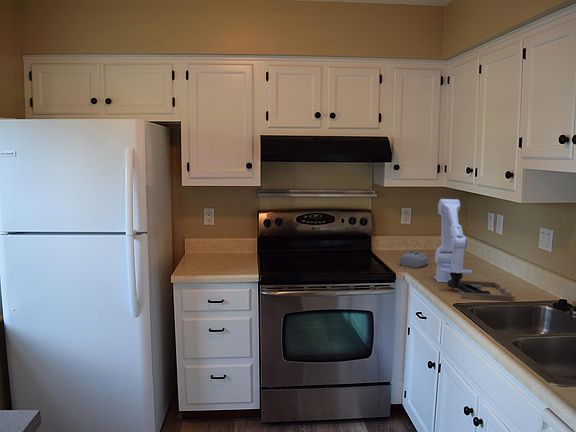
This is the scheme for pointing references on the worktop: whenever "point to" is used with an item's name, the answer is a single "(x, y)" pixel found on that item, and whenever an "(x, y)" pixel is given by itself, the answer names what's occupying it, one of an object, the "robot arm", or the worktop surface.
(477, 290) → the door handle
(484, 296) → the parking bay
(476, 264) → the worktop surface
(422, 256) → the grey rounded bag
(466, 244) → the robot arm
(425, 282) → the worktop surface
